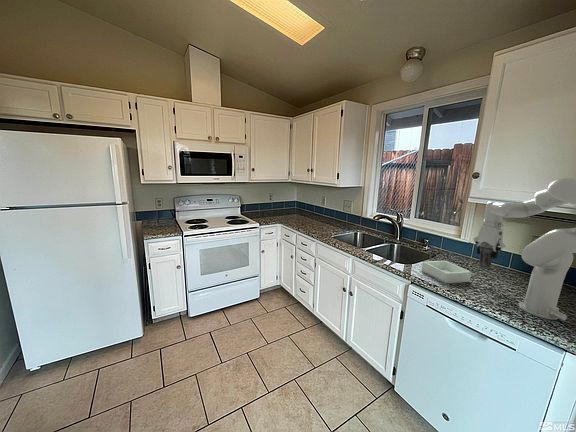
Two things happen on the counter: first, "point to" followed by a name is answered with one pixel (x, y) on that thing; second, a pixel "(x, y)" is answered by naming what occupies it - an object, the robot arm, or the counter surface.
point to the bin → (446, 272)
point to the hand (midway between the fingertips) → (486, 255)
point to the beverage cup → (485, 255)
